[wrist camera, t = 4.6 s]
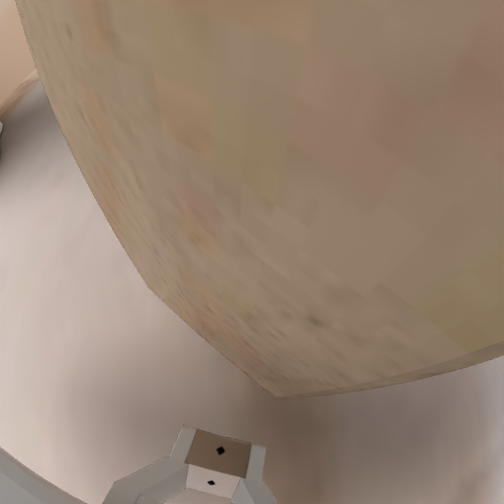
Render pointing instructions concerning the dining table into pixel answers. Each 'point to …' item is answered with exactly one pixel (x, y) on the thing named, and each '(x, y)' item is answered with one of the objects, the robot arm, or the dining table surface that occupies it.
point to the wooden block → (297, 173)
